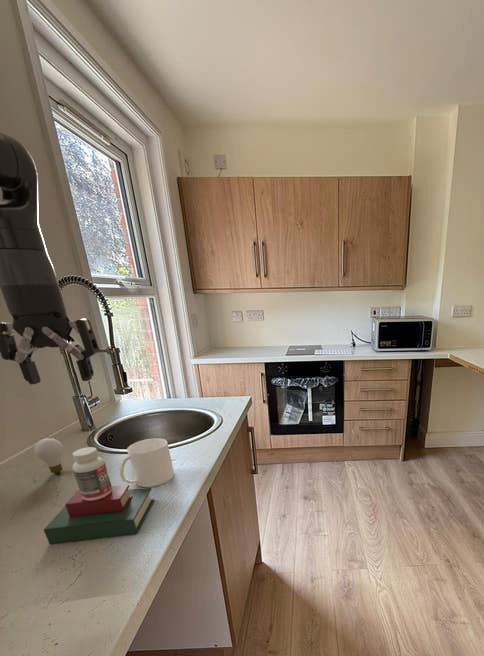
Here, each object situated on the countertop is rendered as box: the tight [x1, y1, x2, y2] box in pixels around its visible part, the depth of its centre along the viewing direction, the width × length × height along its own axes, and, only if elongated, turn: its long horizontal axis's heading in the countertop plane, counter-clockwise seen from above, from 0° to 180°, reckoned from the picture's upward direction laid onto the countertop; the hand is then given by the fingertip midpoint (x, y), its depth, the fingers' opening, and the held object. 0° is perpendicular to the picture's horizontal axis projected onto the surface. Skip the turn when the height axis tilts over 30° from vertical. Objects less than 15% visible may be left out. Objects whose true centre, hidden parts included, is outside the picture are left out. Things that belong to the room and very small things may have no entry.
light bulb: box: [34, 437, 64, 475], centre depth 91 cm, size 6×6×10 cm
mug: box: [118, 437, 175, 488], centre depth 87 cm, size 12×9×9 cm
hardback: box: [43, 487, 155, 545], centre depth 73 cm, size 16×12×4 cm
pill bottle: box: [71, 446, 113, 501], centre depth 69 cm, size 5×5×10 cm
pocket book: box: [64, 484, 132, 517], centre depth 72 cm, size 10×6×3 cm, turn 99°
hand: (61, 381), depth 62 cm, fingers open, 8 cm apart
